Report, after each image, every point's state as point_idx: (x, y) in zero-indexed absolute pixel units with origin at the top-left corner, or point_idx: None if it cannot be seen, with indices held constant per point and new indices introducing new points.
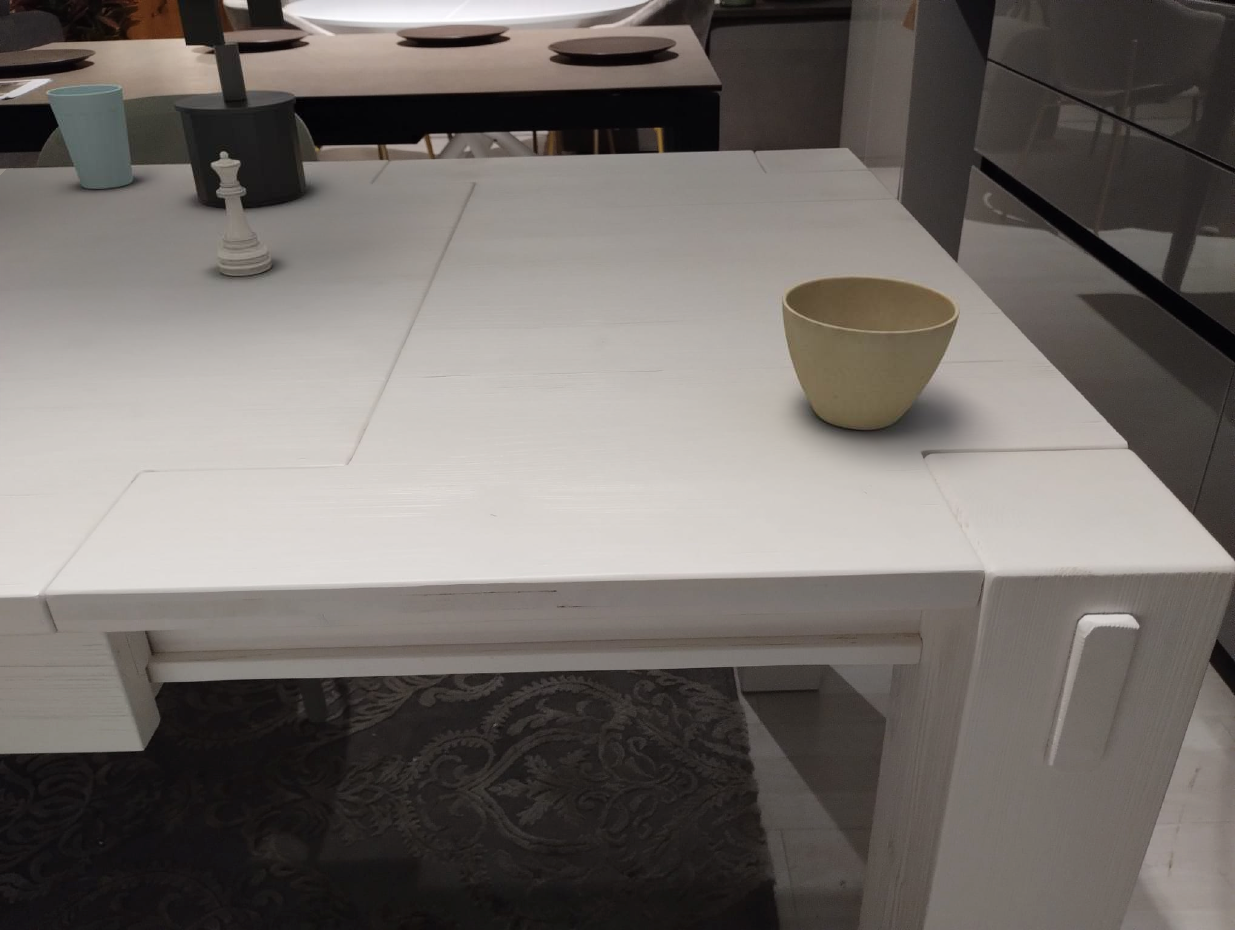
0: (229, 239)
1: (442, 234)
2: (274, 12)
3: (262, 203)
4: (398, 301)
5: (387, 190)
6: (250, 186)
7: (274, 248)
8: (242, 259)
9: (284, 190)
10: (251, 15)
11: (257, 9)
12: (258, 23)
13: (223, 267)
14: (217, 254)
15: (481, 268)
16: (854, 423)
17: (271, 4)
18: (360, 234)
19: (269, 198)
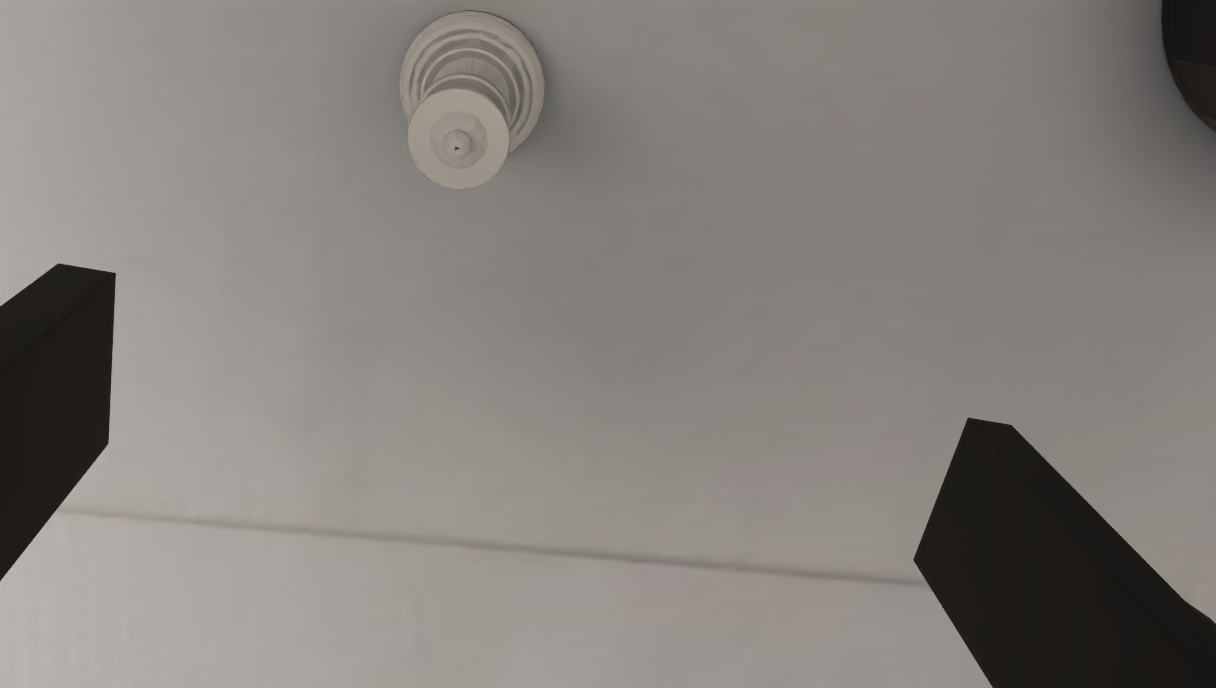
0: (429, 74)
1: (688, 542)
2: (951, 576)
3: (1166, 34)
4: (168, 472)
5: (1200, 390)
6: (1203, 10)
7: (663, 135)
8: (401, 100)
9: (1207, 110)
10: (984, 456)
11: (987, 507)
12: (958, 464)
13: (418, 34)
14: (450, 19)
15: (389, 624)
16: None
17: (971, 593)
18: (743, 351)
19: (1176, 60)
